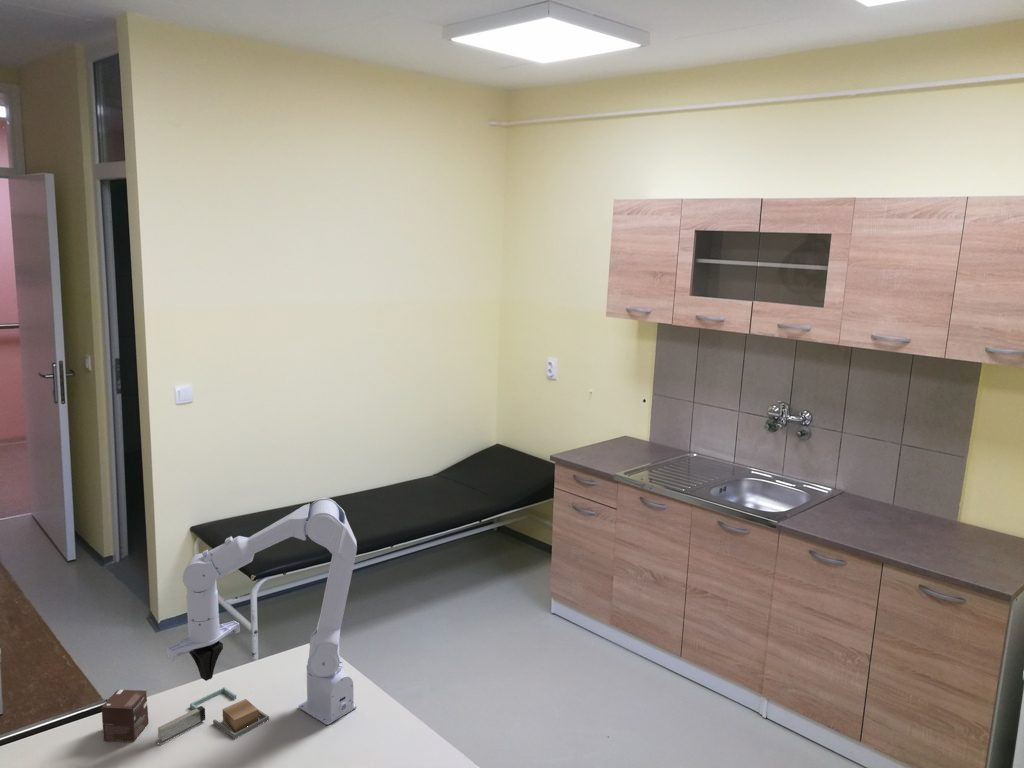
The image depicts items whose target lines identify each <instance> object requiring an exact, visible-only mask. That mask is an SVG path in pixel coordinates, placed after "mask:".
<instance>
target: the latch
mask: <svg viewBox="0 0 1024 768" xmlns="http://www.w3.org/2000/svg"><path fill="white" fill-rule="evenodd" d="M197 707H198V708H197V709H194V710H193V709H192V710H190V711H189V712H186V713H185V714H182V715H180V716H178V717H177V718H174V719H172V720H171V721H169V722H166V723H164V724H163V725H160V726H159V727H157V733H158V735H157V736H158V740H161V741H164V740H166V739H168V738H170V737H172V736H173V735H175V734H177V733H179V732H181V731H183V730H185V729H187V728H189V727H191V726H193V725H195V724H197V723H199V722H201V721H203V722H204V721H206V708H205V706H202V705H201V706H197Z"/></svg>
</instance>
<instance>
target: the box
mask: <svg viewBox="0 0 1024 768" xmlns="http://www.w3.org/2000/svg"><path fill="white" fill-rule="evenodd" d="M147 696H148V695H147V690H142V689H141V690H137V689H136V690H133V689H131V690H130V689H117V690H116V691H115V692H114V693H113V694H112V695H111V696H110V697H109V698H108V699H107V701H106V702H104V704H103V705H102V706H101V719H102V731H103V732H102V733H103V741H105V742H128V743H132V742H133V743H134V742H135V741H136V740H137V739H138V738H137V737H140V735H141V734H142V733H143V731H145V730H146V728H147V726H148V725H149V712H148V711H149V710H148V708H149V707H148V697H147ZM145 727H146V728H145ZM141 732H142V733H141Z"/></svg>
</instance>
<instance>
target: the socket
mask: <svg viewBox="0 0 1024 768" xmlns="http://www.w3.org/2000/svg"><path fill="white" fill-rule="evenodd" d="M259 715H260V716H259ZM258 716H259V717H260V718H261V719H258V721H257V722H255V723H253V724H251V725H250V726H248V727H246V728H244V729H242V730H240V731H238V732H236V733H235V732H234V731H232V730H231V729H230V728H229V727H228V726H227V727H226V725H224V724H222V723H221V722H219V721H218V720H217V719H213V720H212V722H213V723H212V724H213V725H214V724H215V726H216V727H217V726H218V727H219V729H220V730H221V729H222V732H224V731H225V732H224V733H226V735H228V734H229V735H228V736H230V737H231V736H232V737H231V738H232V739H235V738H236V739H237V738H239V737H241V736H243V735H245V734H246V733H248V732H249V731H252V730H253V728H254V729H255V728H257V727H258V725H259V726H261V725H262V723H263V722H264V723H266V722H268V721H270V716H269V715H268V714H266V713H264V712H263V711H261V709H258ZM262 717H263V718H262ZM267 720H268V721H267ZM202 723H203V724H204V720H203V721H201V722H199V723H197V724H195V725H193V726H191V727H189V728H187V729H185V730H183V731H181V732H179V733H177V734H175V735H173V736H172V737H170V738H168V739H166V740H164V741H161V740H159V739H157V740H155V743H156V742H157V743H159V746H162V745H163V743H164V744H165V742H166V741H168V740H170V739H172V738H174V737H176V736H178V735H179V736H181V735H183V734H185V733H187V732H189V731H191V730H193V729H195V728H196V726H197V727H199V726H200V725H202ZM264 723H263V724H264ZM260 724H261V725H260ZM198 725H199V726H198ZM194 727H195V728H194ZM218 727H217V728H218ZM192 728H193V729H192ZM190 729H191V730H190ZM251 729H252V730H251ZM188 730H189V731H188ZM186 731H187V732H186ZM184 732H185V733H184ZM182 733H183V734H182ZM180 734H181V735H180ZM242 734H243V735H242ZM179 736H178V737H179ZM238 736H239V737H238ZM176 738H177V737H176ZM174 739H175V738H174ZM172 740H173V739H172ZM170 741H171V740H170ZM168 742H169V741H168ZM157 743H156V744H157ZM166 743H167V742H166ZM161 744H162V745H161Z"/></svg>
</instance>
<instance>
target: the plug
mask: <svg viewBox="0 0 1024 768" xmlns="http://www.w3.org/2000/svg"><path fill="white" fill-rule="evenodd" d="M258 710H259V709H258V708H257V707H256V706H255V705H254V704H253V703H251V702H250V700H248V699H246V698H245V699H242V700H239V701H238V702H235V703H234V704H230V705H229V706H226V707H224V708H222V722H223V723H224V722H225V723H226V724H227V725H228V726H229V727H230V728H231V729H232V730H233V731H232V730H231V729H230V728H229V727H228V726H227V725H226V724H225V723H224V724H225V725H226V726H227V727H228V728H229V729H230V730H231V731H232V732H234V733H235V732H236V733H237V731H238V732H239V730H240V731H241V730H242V729H244V728H246V727H247V726H250V725H251V724H253V723H255V722H257V721H259V715H258Z"/></svg>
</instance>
